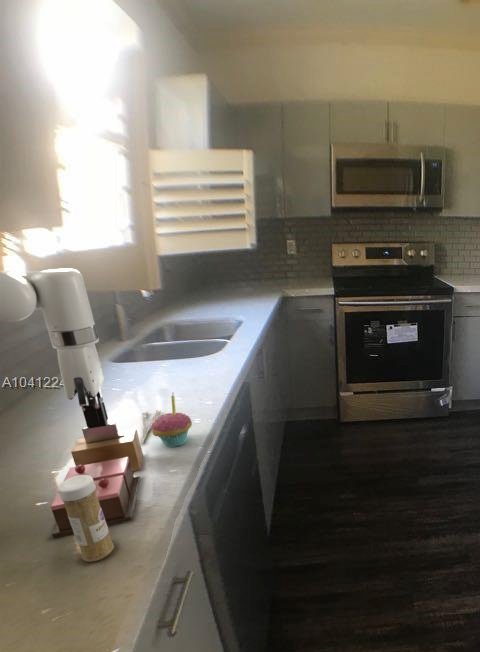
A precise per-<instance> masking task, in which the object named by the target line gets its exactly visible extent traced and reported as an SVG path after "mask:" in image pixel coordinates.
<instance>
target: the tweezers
mask: <svg viewBox="0 0 480 652" xmlns="http://www.w3.org/2000/svg"><path fill="white" fill-rule="evenodd" d="M161 413H162V410H161V409H160V410H159V409H158V410H157V409H155V414H154V415H153V416H152V419H151V420H150V422H149V424H148V426H147V425H146V416H148V415H149V411H146V412H141V415H142V439H141V445H143V444H144V442H145V441H146V438H147V435H148V432H149V431H150V429H151V428H152V424H153V423H154V422H155V420H157V419H158V416H159V415H160V414H161ZM146 426H147V427H146Z"/></svg>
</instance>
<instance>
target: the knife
mask: <svg viewBox="0 0 480 652" xmlns="http://www.w3.org/2000/svg"><path fill="white" fill-rule="evenodd" d="M88 399H92V398H88ZM97 399H98V403H99V407H102V410H103V414H104V418H105V422H106V424H105V426H100V427H93V428H88V427H87V426H86V427H82V428H81V431H82V434H83V437H84V438H85V441H86V444H89V443H94V442H100V441H106V440H112V439H117V438H119V435H118V427H117V423H116V422H114V423H108V420H107V419H106V415H105V411H104V407H103V404H102V400H101V397H97ZM92 400H93V399H92Z"/></svg>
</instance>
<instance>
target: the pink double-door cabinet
mask: <svg viewBox="0 0 480 652" xmlns="http://www.w3.org/2000/svg"><path fill="white" fill-rule="evenodd" d="M78 475H89V476H91V477H92V478H93V480H94V483H95V492H96V495H97V498H98V501H99V504H100V507H101V509H102V512H103V515H104V518H105V521H106V524H107V527H108V526H112V525H113V526H114V525H117V524H122V523H125V522H130V521H132V520H133V516H134V511H135V507H136V503H137V499H138V498H137V497H138V493H139V489H140V485H141V481H142V478H141V476H134V471H133V472H132V469H131V465H130V461H129V458H128V457H125V458H120V459H115V460H109V461H104V462H98V463H93V464H88V465H78V466H76V465H75V466H72V467H70V468H69V469H68V471H67V473H66V475H65V477H64V479H63V481H65V480H67V479H69V478H71V477H74V476H78ZM50 509H51V512H52V515H53V517H54V520H55V523H56V524H55V527H54V529H53V531H52V532H51V536H52V538H53V539H55V538H59V537H64V536H69V535H74V532H73V529H72V527H71V524H70V521H69V518H68V514H67V511H66V508H65V505H64V502H63V500H61V498H60V495H59V492H58V491H57V493H56V495H55V497H54V499H53V501H52V503H51V505H50Z"/></svg>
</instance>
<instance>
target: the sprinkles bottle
mask: <svg viewBox="0 0 480 652" xmlns="http://www.w3.org/2000/svg"><path fill="white" fill-rule="evenodd" d="M58 492H59V495H60V498H61V500H63V502H64V505H65V508H66V511H67V514H68V518H69V521H70V524H71V527H72V529H73V532H74V533H73V535H74V537H75V540H76V543H77V544H78V546H79V550H80V553H81V558H82V560H83V561H84V562H89V563H91V562H97V561H101V560H102V559H105V558H106V557H108V556H109V555H110V554H111V553H112V551H113V550H114V548H115V545H114V543H113V542H112V541H113V540H112V538H111V535H110V532H109V527H108V526H107V524H106V521H105V518H104V515H103V512H102V509H101V507H100V504H99V501H98V498H97V495H96V492H95V483H94V480H93V478H92V477H91V476H89V475H78V476H74V477H71V478H69V479H67V480H65V481H64V480H63V481H61V483H60V484H59V485H58V486H57V493H58Z"/></svg>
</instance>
